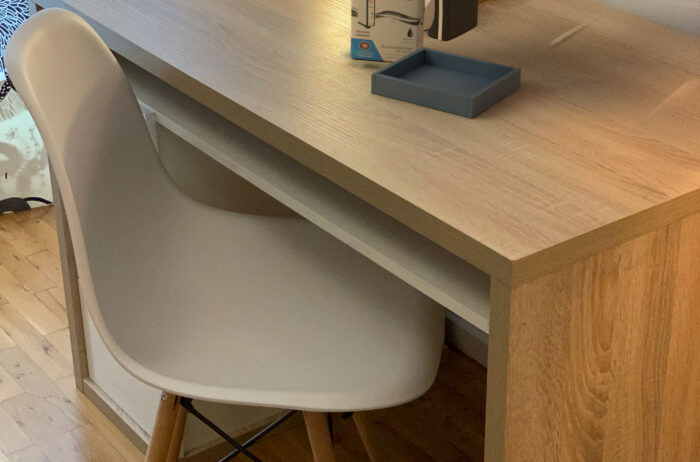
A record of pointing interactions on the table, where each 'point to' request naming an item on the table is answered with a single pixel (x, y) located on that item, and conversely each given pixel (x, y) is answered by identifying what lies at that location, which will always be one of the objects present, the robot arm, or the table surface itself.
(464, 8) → the battery charger
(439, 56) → the tray
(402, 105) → the table surface
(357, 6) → the ink box
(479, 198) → the table surface
